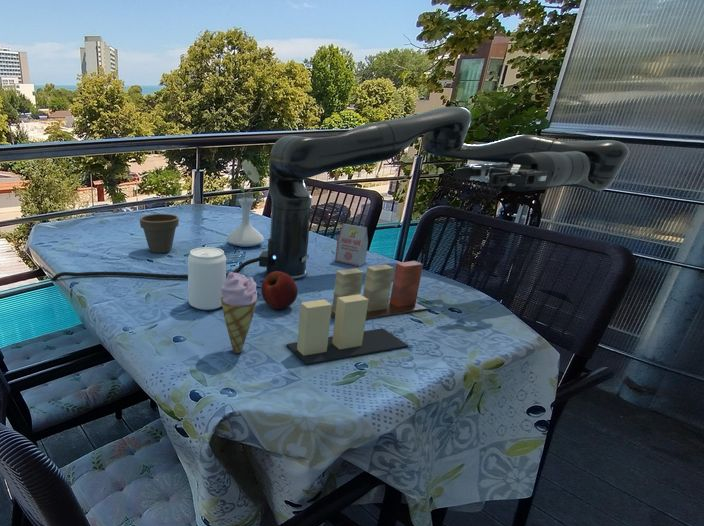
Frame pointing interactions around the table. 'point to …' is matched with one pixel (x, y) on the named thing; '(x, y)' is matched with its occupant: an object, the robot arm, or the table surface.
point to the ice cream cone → (238, 307)
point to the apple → (279, 290)
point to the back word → (370, 291)
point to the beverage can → (206, 277)
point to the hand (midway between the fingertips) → (472, 176)
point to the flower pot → (159, 231)
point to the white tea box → (352, 245)
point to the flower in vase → (246, 215)
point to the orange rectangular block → (406, 283)
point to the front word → (339, 332)
